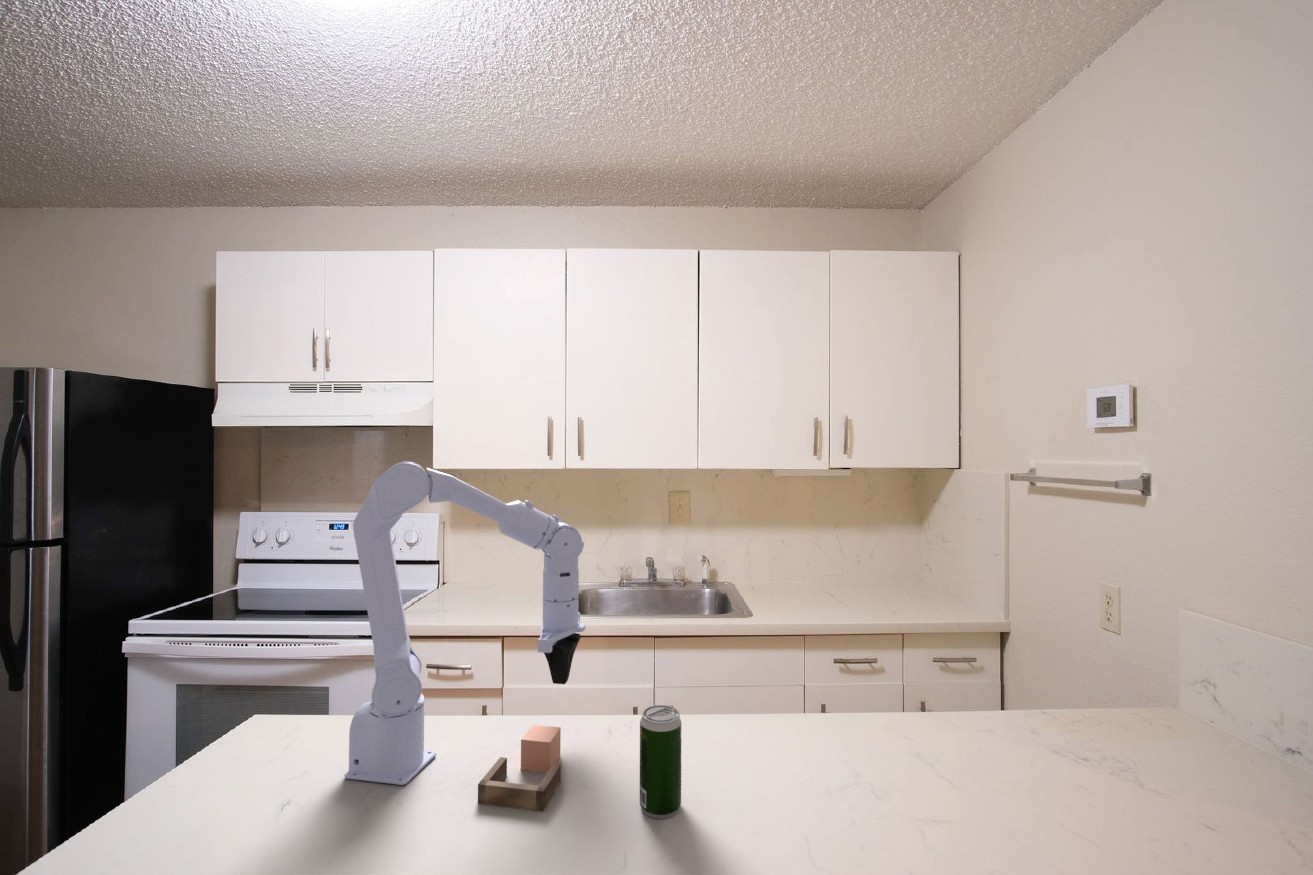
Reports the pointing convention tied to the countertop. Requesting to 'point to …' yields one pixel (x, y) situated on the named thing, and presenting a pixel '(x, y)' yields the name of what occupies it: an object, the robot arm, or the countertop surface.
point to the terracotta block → (540, 748)
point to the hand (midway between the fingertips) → (560, 682)
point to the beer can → (660, 761)
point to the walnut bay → (517, 789)
